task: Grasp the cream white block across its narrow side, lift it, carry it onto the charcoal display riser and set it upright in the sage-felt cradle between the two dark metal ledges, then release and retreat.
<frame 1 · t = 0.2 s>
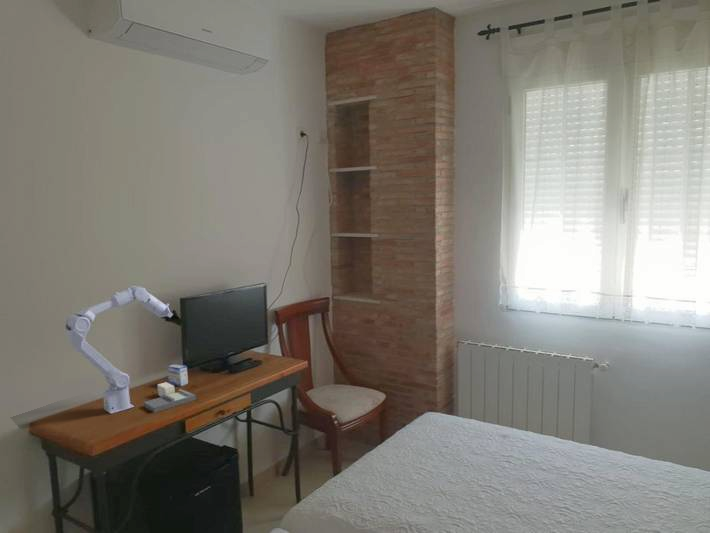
hand: (177, 322, 238), 31 cm above the table, tool tilted 45°, fingers open, 7 cm apart
cream white block: (166, 396, 235), on the table
display riser: (170, 403, 225), on the table
medicine box: (178, 384, 250), on the table
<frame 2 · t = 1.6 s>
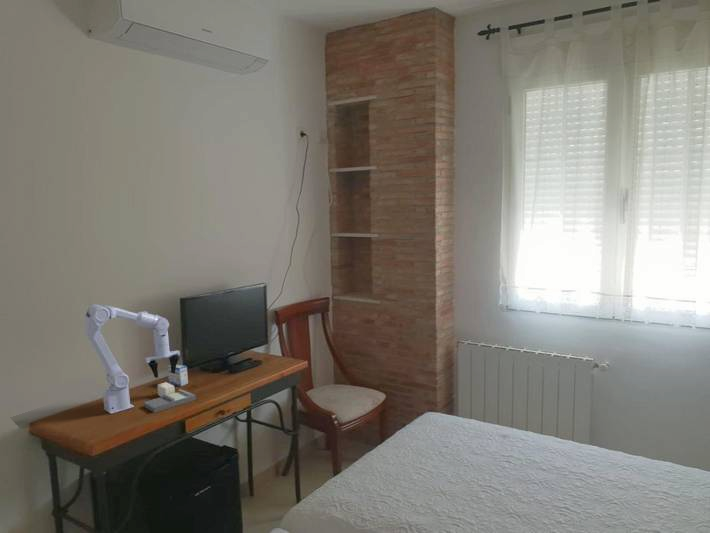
hand: (164, 375, 233), 9 cm above the table, tool pointing down, fingers open, 7 cm apart
nothing on the table moved.
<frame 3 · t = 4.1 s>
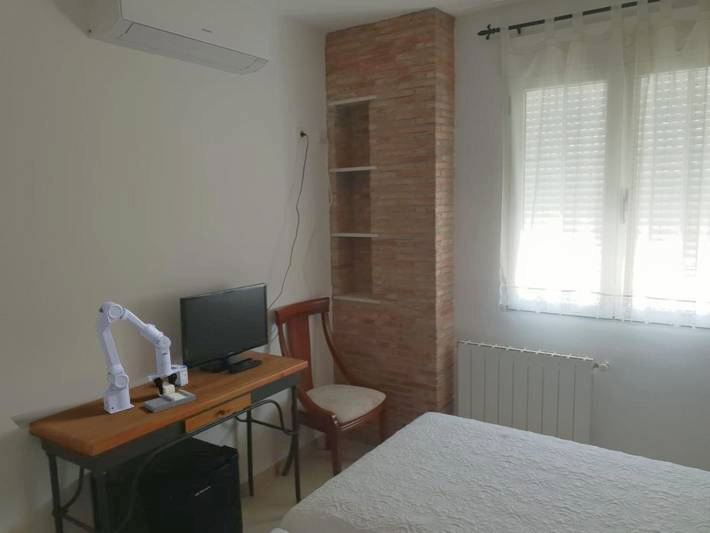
hand: (166, 392, 234), 1 cm above the table, tool pointing down, fingers closed on cream white block, 4 cm apart
cream white block: (166, 396, 235), on the table, touching gripper
everything else where it was.
when the fingers open (5 cm above the table, at t = 9.5 s): cream white block drops 1 cm, resting on display riser.
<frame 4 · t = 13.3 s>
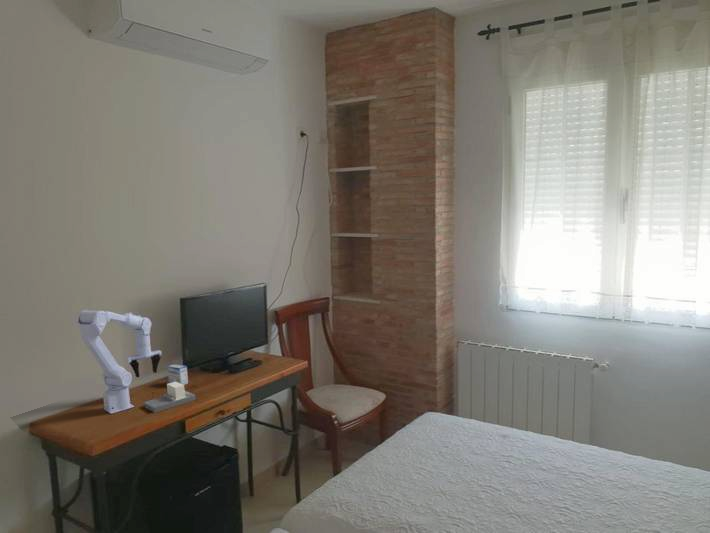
hand: (146, 374, 235), 9 cm above the table, tool pointing down, fingers open, 7 cm apart
cream white block: (176, 396, 227), point 2 cm above the table, touching display riser
everything else where it was.
at the end: cream white block 0.1 cm from the target spot on the display riser, point 2.2 cm above the display riser's base; cream white block tilted 0°; the gripper is holding nothing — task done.
